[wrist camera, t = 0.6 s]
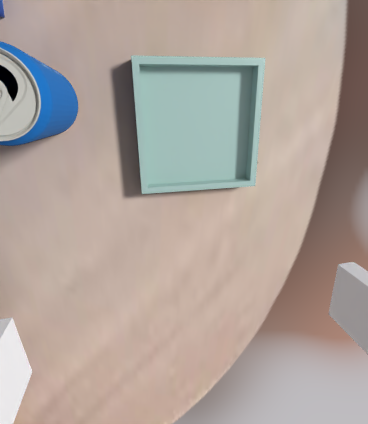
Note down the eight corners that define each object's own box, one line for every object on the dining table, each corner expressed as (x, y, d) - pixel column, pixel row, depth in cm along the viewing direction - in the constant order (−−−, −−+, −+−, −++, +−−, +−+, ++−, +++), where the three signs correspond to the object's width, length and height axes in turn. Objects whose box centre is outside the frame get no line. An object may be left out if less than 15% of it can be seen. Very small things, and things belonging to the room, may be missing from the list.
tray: (131, 59, 28) (131, 55, 26) (256, 61, 30) (265, 58, 28) (141, 189, 33) (141, 194, 31) (248, 182, 35) (255, 186, 33)
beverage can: (89, 90, 28) (63, 76, 17) (64, 145, 29) (25, 165, 18) (25, 52, 26) (-53, 7, 15) (1, 113, 27) (-87, 114, 16)
